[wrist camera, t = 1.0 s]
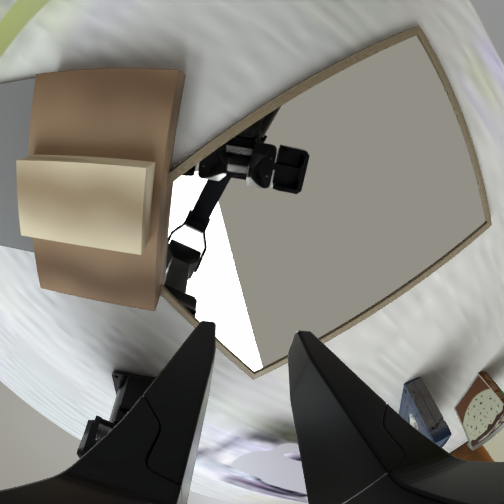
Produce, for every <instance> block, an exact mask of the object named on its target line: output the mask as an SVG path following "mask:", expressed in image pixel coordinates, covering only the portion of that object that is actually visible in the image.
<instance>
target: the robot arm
mask: <svg viewBox="0 0 504 504" xmlns="http://www.w3.org/2000/svg"><path fill="white" fill-rule="evenodd" d="M215 351H216V323H215V322H211V321H201V322H200V323H199V324H198V325H197V327H196V328H195V329H194V330H193V332H192V333H191V334H190V336H189V337H188V338H187V339H186V341H185V342H184V343H183V344H182V346H181V347H180V348H179V349H178V351H177V352H176V353H175V355H174V356H173V357H172V358H171V360H170V361H169V362H168V363H167V365H166V366H165V367H164V368H163V370H162V371H161V372H160V374H159V375H158V376H157V377H156V378H150V377H145V376H140V375H134V374H129V373H125V372H120V371H113V374H112V378H113V382H114V387H115V391H116V395H117V396H116V399H115V403H114V406H113V409H112V413H111V417H110V420H109V421H107V420H104V419H102V417H99V416H96V418H95V420H88V423H87V426H86V429H85V432H84V435H83V438H82V440H81V443H80V445H79V448H78V451H77V455H78V456H79V458H80V459H79V460H78V461H77V462H76V463H74V464H73V465H72V466H71V467H69V468H68V469H67V470H65V471H63V472H62V473H60V474H58V475H55V476H53V477H50V478H47V479H44V480H40V481H37V482H33V483H29V484H26V485H22V486H18V487H14V488H9V489H5V490H0V504H187V500H188V495H189V490H190V485H191V480H192V475H193V470H194V465H195V460H196V455H197V450H198V445H199V440H200V436H201V431H202V426H203V421H204V416H205V412H206V407H207V402H208V396H209V390H210V383H211V377H212V371H213V364H214V358H215ZM288 367H289V384H290V400H291V407H292V412H293V418H294V423H295V429H296V434H297V440H298V445H299V451H300V457H301V462H302V468H303V473H304V479H305V485H306V490H307V496H308V502H309V504H504V462H478V461H467V460H462V459H459V458H457V457H455V456H453V455H451V454H450V453H448V452H447V451H445V450H444V449H442V448H441V447H440V446H438V445H437V444H436V443H434V442H433V441H432V440H430V439H429V438H427V437H426V436H425V435H423V434H422V433H421V432H419V431H418V430H417V429H416V428H414V427H413V426H412V425H411V424H409V423H408V422H407V421H406V420H405V419H404V418H402V417H401V416H400V415H399V414H398V413H397V412H396V411H394V410H393V409H392V408H391V407H390V406H389V405H388V404H386V402H385V401H384V400H383V399H381V398H380V397H379V396H378V395H377V394H376V393H375V392H374V391H373V390H372V389H371V388H370V387H369V386H368V385H366V384H365V383H364V382H363V381H362V380H361V379H360V378H359V377H358V376H357V375H356V374H355V373H354V372H353V371H352V370H351V369H349V368H348V367H347V366H346V365H345V364H344V363H343V362H342V361H341V360H340V359H339V358H338V357H337V356H336V355H335V354H334V353H333V352H332V351H331V350H329V349H328V348H327V347H326V346H325V345H324V344H323V343H322V342H321V341H320V340H319V339H318V338H317V337H316V336H315V335H314V334H313V333H312V332H310V331H301V330H298V331H296V333H295V335H294V338H293V340H292V343H291V346H290V348H289V352H288ZM96 439H97V440H96Z"/></svg>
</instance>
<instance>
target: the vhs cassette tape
mask: <svg viewBox="0 0 504 504" xmlns="http://www.w3.org/2000/svg"><path fill="white" fill-rule="evenodd" d="M399 415H400V416H401V417H402V418H404V419H405V420H406V421H407V422H408V423H409V424H411V425H412V426H413V427H414V428H416V429H417V430H418V431H419V432H421V433H422V434H423V435H425V436H426V437H427V438H429V439H430V440H432V441H433V442H434V443H436V444H437V445H438V446H440V447H441V448H442V447H443V446H444V445H445V444H446V442H447V441H448V439H449V437H450V436H451V435H452V434H451V432H450V429H449V427H448V425H447V423H446V422H445V421H444V420H443V416H442V414H441V413H440V411H439V409H438V407H437V405H436V404H435V402H434V400H433V398H432V397H431V395H430V393H429V391H428V389H427V388H426V386H425V384H424V383H423V381H422V379H421V378H420V377H419V378H417V379H414V380H412V381H410V382H408V383H405V384H404V389H403V394H402V399H401V404H400V410H399Z"/></svg>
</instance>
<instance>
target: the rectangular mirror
mask: <svg viewBox="0 0 504 504" xmlns="http://www.w3.org/2000/svg"><path fill="white" fill-rule="evenodd" d="M167 187H168V189H167V199H166V209H165V221H164V234H163V249H162V267H161V285H160V294H161V295H162V296H163V297H164V298H165V299H166V300H167V301H168V302H169V303H170V304H171V305H172V306H173V307H174V308H175V309H176V310H177V311H178V312H179V313H180V314H181V315H182V316H183V317H184V318H185V319H186V320H187V321H188V322H189V323H190V324H191V325H192V326H193V327H194V328H196V327H197V325H198V324H199V323H200V322H201V321H211V322H215V323H216V348H217V349H218V350H220V351H221V352H222V353H223V354H224V355H225V356H226V357H227V358H229V359H230V360H231V361H232V362H233V363H234V364H236V365H237V366H238V367H239V368H240V369H241V370H243V371H244V372H245V373H246V374H247V375H248V376H250V377H251V378H252V379H253V380H254V379H256V378H258V377H260V376H262V375H264V374H266V373H268V372H270V371H272V370H274V369H276V368H278V367H280V366H282V365H284V364H286V363H288V352H289V348H290V346H291V343H292V340H293V338H294V335H295V333H296V331H298V330H301V331H310V332H312V333H313V334H314V335H315V336H316V337H317V338H318V339H319V340H320V341H321V342H322V343H323V344H324V343H325V342H327V341H329V340H331V339H332V338H334V337H336V336H338V335H339V334H341V333H343V332H344V331H346V330H348V329H350V328H351V327H353V326H354V325H356V324H358V323H359V322H361V321H363V320H364V319H366V318H367V317H369V316H371V315H372V314H374V313H375V312H377V311H378V310H380V309H382V308H383V307H385V306H386V305H388V304H389V303H391V302H392V301H394V300H395V299H397V298H398V297H400V296H401V295H402V294H404V293H405V292H407V291H408V290H410V289H411V288H413V287H414V286H415V285H417V284H418V283H420V282H421V281H422V280H424V279H425V278H426V277H428V276H429V275H431V274H432V273H433V272H435V271H436V270H437V269H439V268H440V267H441V266H443V265H444V264H445V263H446V262H448V261H449V260H450V259H452V258H453V257H454V256H455V255H457V254H458V253H459V252H460V251H462V250H463V249H464V248H465V247H467V246H468V245H469V244H470V243H471V242H473V241H474V240H475V239H476V238H477V237H478V236H480V235H481V234H482V233H483V232H484V231H485V230H487V229H488V228H489V227H490V226H491V225H492V224H491V218H490V212H489V207H488V201H487V197H486V192H485V187H484V183H483V179H482V175H481V171H480V167H479V164H478V160H477V156H476V153H475V150H474V146H473V143H472V140H471V137H470V134H469V131H468V128H467V125H466V123H465V120H464V117H463V114H462V112H461V109H460V107H459V104H458V102H457V99H456V97H455V94H454V92H453V90H452V88H451V85H450V83H449V81H448V79H447V77H446V74H445V72H444V70H443V68H442V66H441V64H440V62H439V60H438V58H437V56H436V54H435V53H434V51H433V49H432V47H431V45H430V43H429V42H428V40H427V38H426V36H425V35H424V33H423V31H422V30H421V28H420V26H417V27H414V28H411V29H409V30H406V31H404V32H401V33H399V34H397V35H394V36H392V37H390V38H387V39H385V40H383V41H381V42H378V43H376V44H374V45H372V46H370V47H368V48H365V49H363V50H361V51H359V52H357V53H355V54H353V55H351V56H349V57H347V58H345V59H343V60H341V61H339V62H337V63H335V64H334V65H332V66H330V67H328V68H326V69H324V70H322V71H320V72H319V73H317V74H315V75H313V76H311V77H310V78H308V79H306V80H304V81H303V82H301V83H299V84H298V85H296V86H294V87H292V88H291V89H289V90H287V91H286V92H284V93H282V94H281V95H279V96H278V97H276V98H274V99H273V100H271V101H270V102H268V103H266V104H265V105H263V106H262V107H260V108H259V109H257V110H256V111H254V112H252V113H251V114H249V115H248V116H246V117H245V118H243V119H242V120H240V121H239V122H238V123H236V124H235V125H233V126H232V127H230V128H229V129H227V130H226V131H225V132H223V133H222V134H220V135H219V136H218V137H216V138H215V139H213V140H212V141H211V142H209V143H208V144H207V145H205V146H204V147H202V148H201V149H200V150H198V151H197V152H196V153H194V154H193V155H192V156H191V157H189V158H188V159H187V160H185V161H184V162H183V163H181V164H180V165H179V166H178V167H176V168H175V169H174V170H173V171H171V172H170V173H169V175H168V184H167Z"/></svg>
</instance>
